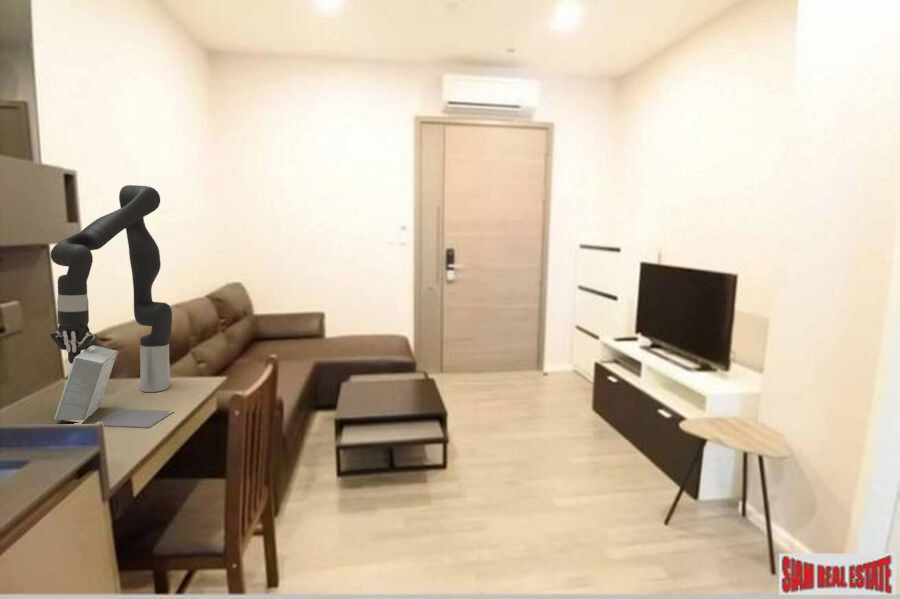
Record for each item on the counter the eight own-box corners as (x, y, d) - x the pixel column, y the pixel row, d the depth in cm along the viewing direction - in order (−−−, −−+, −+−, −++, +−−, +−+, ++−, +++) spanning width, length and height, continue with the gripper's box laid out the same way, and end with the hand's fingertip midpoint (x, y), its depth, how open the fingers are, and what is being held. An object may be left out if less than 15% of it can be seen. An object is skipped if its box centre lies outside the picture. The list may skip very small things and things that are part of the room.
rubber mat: (121, 409, 155) (121, 408, 155) (174, 412, 156) (174, 410, 156) (91, 425, 141) (91, 424, 141) (149, 428, 142) (149, 426, 142)
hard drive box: (72, 401, 153) (92, 344, 153) (99, 407, 156) (119, 350, 156) (52, 419, 139) (74, 356, 138) (82, 424, 141) (104, 362, 141)
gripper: (103, 308, 148) (104, 361, 151) (60, 305, 148) (61, 358, 150) (86, 311, 141) (87, 367, 143) (40, 309, 140) (42, 365, 142)
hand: (74, 363), depth 147 cm, fingers closed
